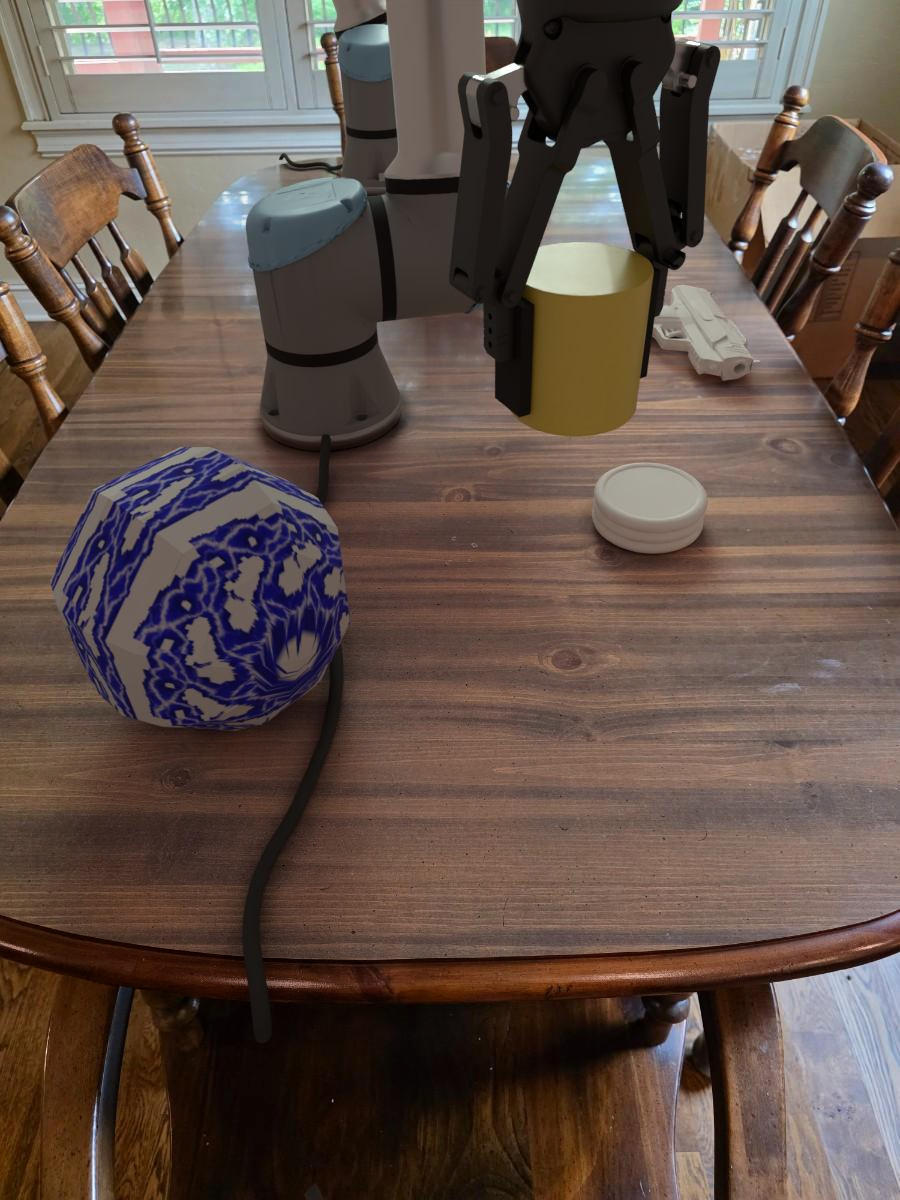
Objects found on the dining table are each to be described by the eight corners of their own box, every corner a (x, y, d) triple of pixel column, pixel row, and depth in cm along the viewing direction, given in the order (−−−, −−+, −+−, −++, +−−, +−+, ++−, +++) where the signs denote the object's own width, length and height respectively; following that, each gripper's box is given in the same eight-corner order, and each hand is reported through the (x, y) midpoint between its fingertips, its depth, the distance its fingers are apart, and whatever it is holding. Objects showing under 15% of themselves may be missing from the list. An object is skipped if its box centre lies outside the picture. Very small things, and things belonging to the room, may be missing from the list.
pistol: (628, 366, 96) (766, 351, 96) (592, 292, 110) (711, 279, 110) (626, 395, 98) (760, 381, 98) (591, 320, 113) (707, 307, 113)
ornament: (253, 405, 69) (437, 497, 58) (223, 623, 77) (380, 739, 66) (-3, 409, 54) (182, 535, 43) (-7, 679, 62) (149, 839, 51)
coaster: (721, 546, 76) (728, 514, 74) (613, 564, 75) (617, 532, 73) (675, 484, 84) (681, 453, 81) (576, 499, 82) (579, 468, 80)
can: (607, 449, 49) (623, 306, 43) (486, 418, 52) (486, 280, 46) (654, 389, 54) (673, 254, 48) (540, 363, 57) (546, 233, 51)
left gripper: (435, -76, 31) (453, 466, 46) (848, -112, 38) (745, 368, 53) (349, -87, 36) (390, 406, 51) (729, -117, 43) (665, 324, 58)
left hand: (571, 386), depth 52 cm, fingers closed on can, 8 cm apart
